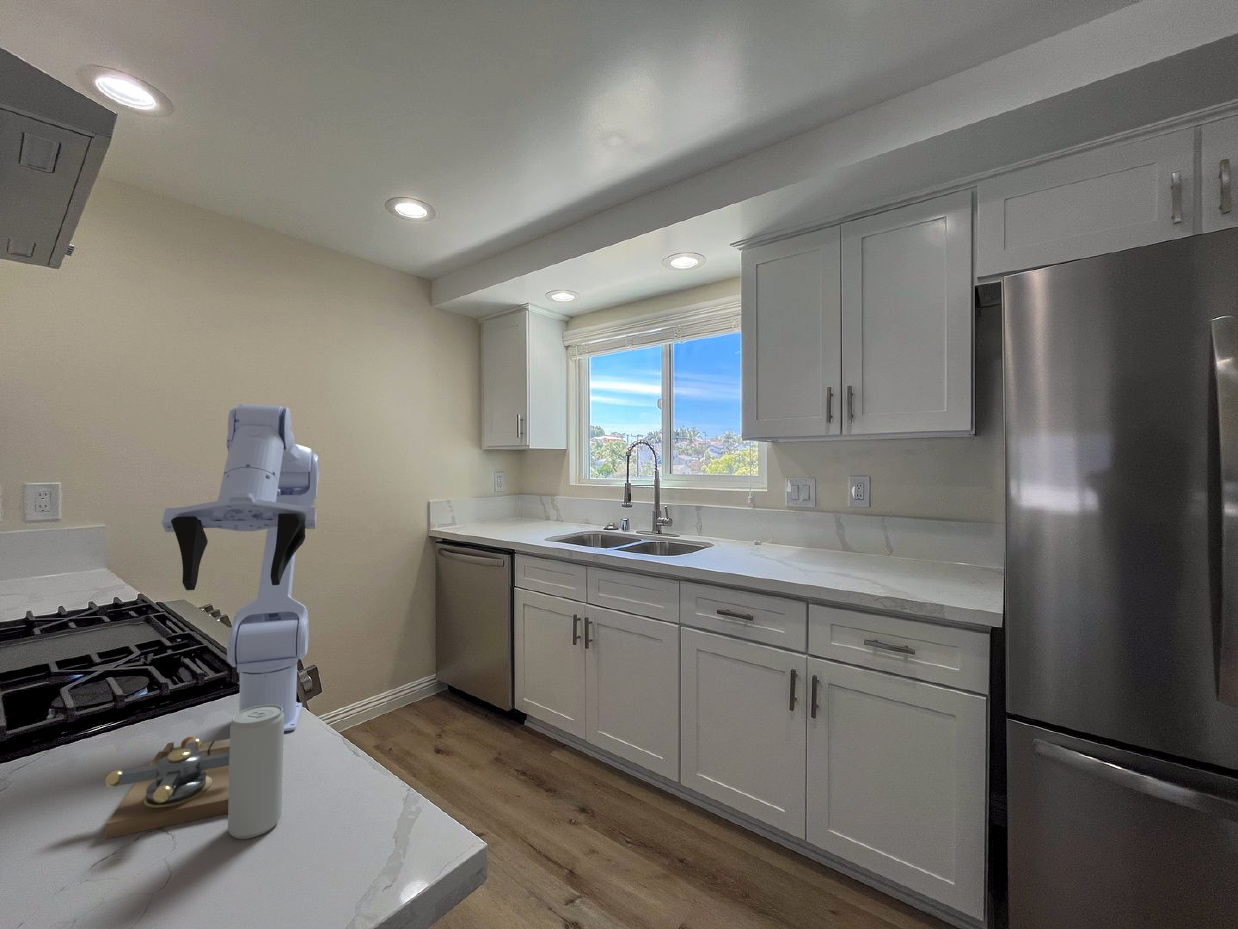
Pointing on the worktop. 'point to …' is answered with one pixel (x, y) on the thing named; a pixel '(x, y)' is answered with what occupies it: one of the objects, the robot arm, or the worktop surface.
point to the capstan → (172, 774)
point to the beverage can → (255, 770)
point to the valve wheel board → (203, 804)
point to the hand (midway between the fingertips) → (232, 583)
